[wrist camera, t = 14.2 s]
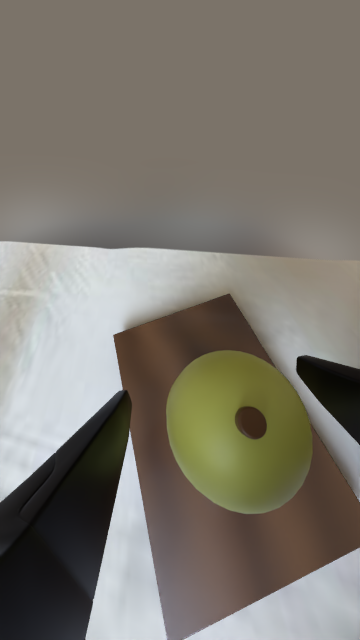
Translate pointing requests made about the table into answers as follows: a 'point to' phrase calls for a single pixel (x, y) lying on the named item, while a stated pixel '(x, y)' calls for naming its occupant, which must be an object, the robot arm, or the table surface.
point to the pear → (239, 431)
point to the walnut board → (200, 512)
